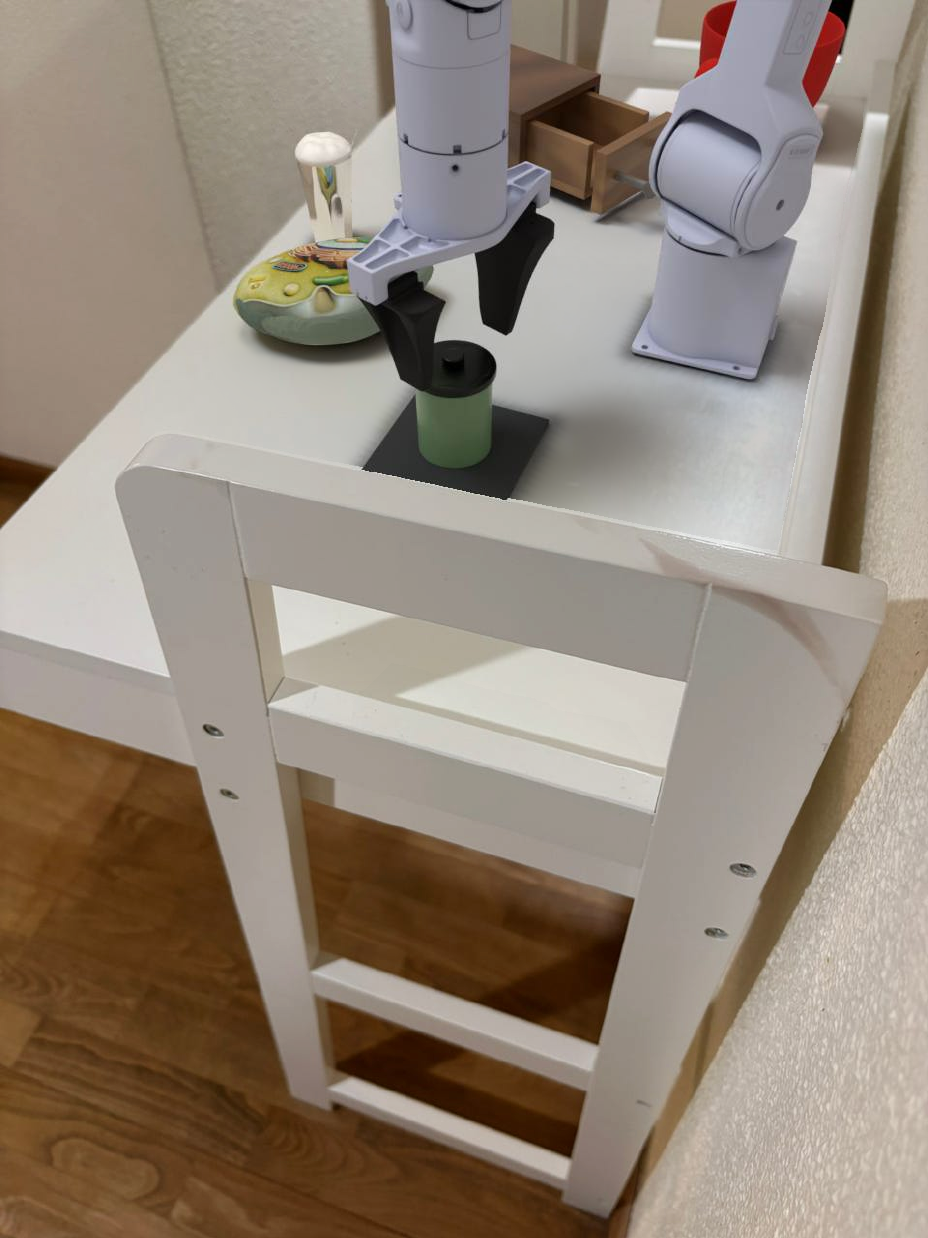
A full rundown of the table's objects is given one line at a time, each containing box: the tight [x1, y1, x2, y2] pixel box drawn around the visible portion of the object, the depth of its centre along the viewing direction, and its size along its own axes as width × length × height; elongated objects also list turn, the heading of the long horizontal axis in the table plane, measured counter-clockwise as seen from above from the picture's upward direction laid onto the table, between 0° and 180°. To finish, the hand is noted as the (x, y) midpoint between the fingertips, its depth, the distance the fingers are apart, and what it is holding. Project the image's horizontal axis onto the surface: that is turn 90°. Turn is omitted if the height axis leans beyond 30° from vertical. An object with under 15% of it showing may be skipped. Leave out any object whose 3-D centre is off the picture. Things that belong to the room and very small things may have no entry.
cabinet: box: [508, 43, 602, 169], centre depth 89 cm, size 14×12×7 cm
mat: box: [361, 393, 550, 501], centre depth 64 cm, size 10×10×1 cm
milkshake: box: [294, 127, 359, 243], centre depth 77 cm, size 4×5×10 cm
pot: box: [414, 339, 498, 469], centre depth 61 cm, size 6×6×7 cm
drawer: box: [524, 90, 673, 216], centre depth 84 cm, size 17×10×5 cm, turn 48°
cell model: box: [232, 236, 435, 346], centre depth 71 cm, size 11×8×15 cm
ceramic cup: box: [693, 0, 846, 109], centre depth 89 cm, size 13×17×10 cm
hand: (457, 354), depth 58 cm, fingers open, 7 cm apart
